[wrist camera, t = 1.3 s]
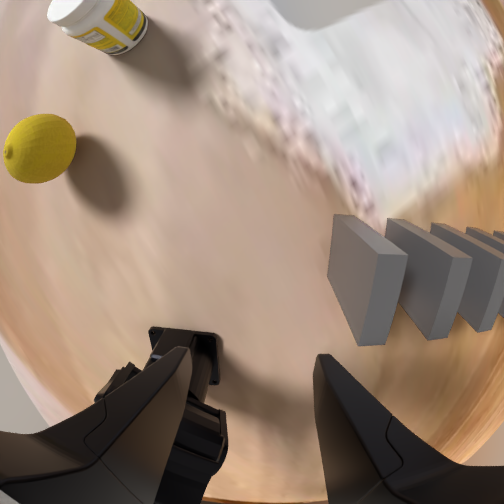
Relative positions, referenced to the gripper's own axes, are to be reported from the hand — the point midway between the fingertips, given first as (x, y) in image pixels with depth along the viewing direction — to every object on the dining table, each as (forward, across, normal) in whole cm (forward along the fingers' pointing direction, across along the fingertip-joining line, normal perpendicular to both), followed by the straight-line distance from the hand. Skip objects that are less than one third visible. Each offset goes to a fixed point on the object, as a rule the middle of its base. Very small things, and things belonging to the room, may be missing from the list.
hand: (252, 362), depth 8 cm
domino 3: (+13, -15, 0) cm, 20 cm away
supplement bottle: (+13, +12, -18) cm, 26 cm away
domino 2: (+13, -10, 0) cm, 17 cm away
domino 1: (+13, -6, 0) cm, 14 cm away
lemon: (+13, +17, -8) cm, 23 cm away
